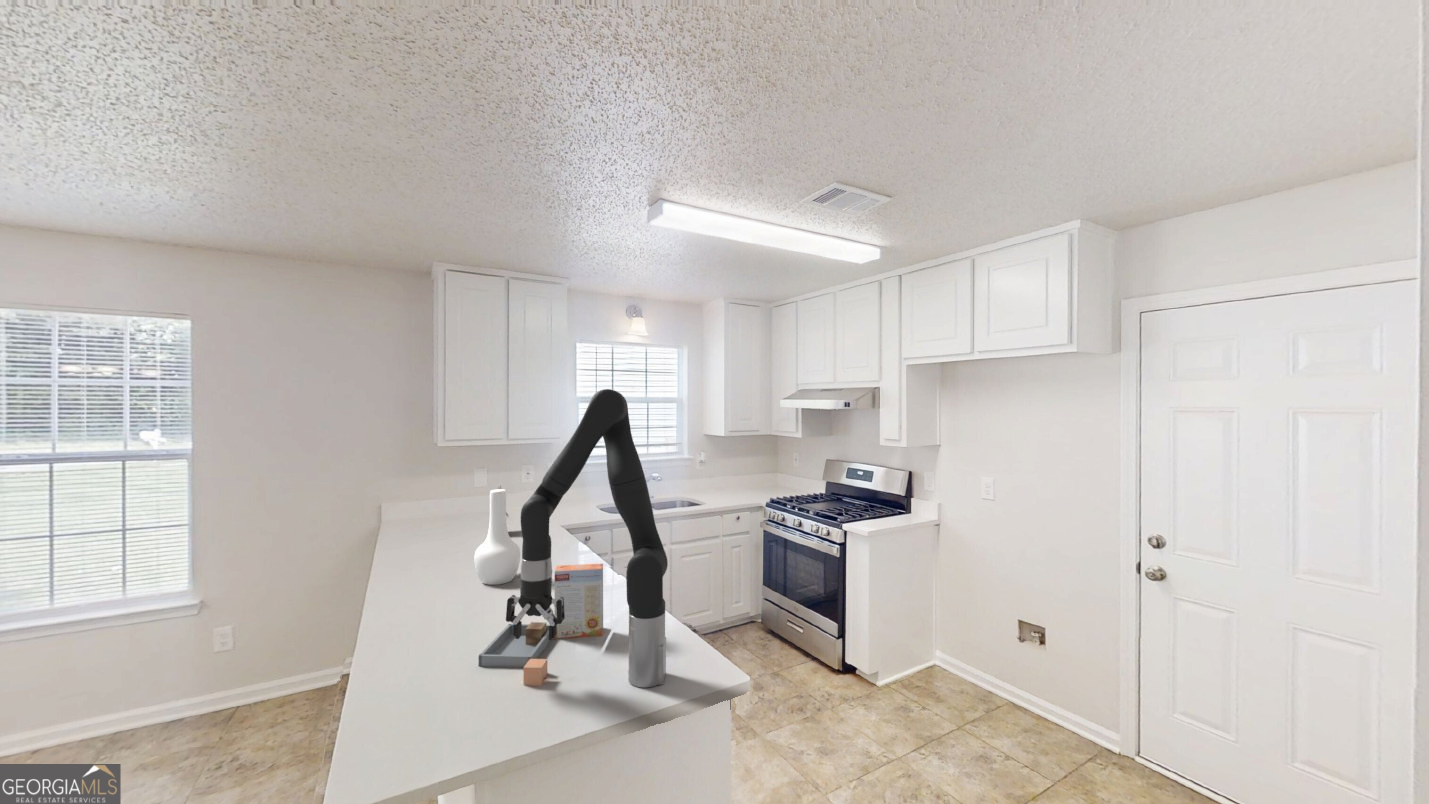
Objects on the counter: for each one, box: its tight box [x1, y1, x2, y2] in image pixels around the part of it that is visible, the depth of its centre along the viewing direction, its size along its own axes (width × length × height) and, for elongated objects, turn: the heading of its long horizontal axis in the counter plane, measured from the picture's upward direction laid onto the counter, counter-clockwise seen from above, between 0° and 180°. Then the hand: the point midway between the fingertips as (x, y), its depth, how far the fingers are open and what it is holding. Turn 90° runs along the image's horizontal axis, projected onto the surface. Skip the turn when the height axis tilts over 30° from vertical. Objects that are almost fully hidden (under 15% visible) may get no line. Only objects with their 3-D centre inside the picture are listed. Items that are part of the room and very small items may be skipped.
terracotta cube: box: [522, 658, 548, 686], centre depth 138 cm, size 4×4×4 cm
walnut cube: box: [526, 621, 547, 645], centre depth 158 cm, size 4×4×4 cm
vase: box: [473, 488, 521, 586], centre depth 212 cm, size 17×17×35 cm
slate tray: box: [478, 623, 551, 668], centre depth 154 cm, size 14×20×4 cm
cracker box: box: [554, 563, 604, 639], centre depth 164 cm, size 14×6×21 cm, turn 99°
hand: (535, 638), depth 138 cm, fingers open, 8 cm apart
